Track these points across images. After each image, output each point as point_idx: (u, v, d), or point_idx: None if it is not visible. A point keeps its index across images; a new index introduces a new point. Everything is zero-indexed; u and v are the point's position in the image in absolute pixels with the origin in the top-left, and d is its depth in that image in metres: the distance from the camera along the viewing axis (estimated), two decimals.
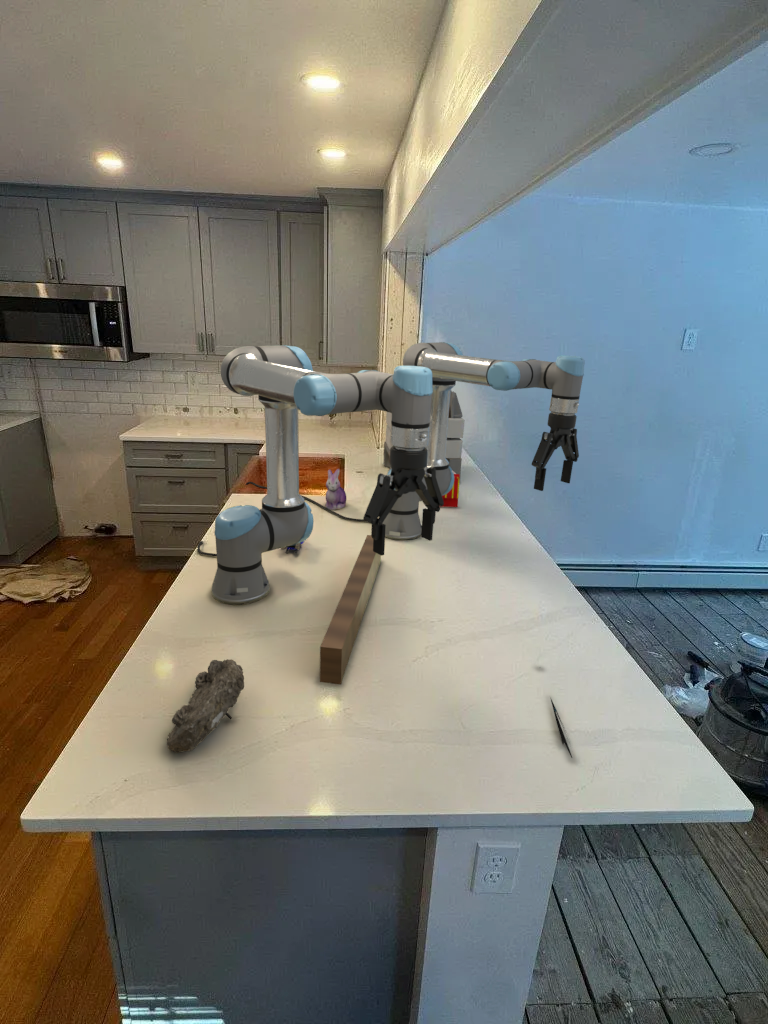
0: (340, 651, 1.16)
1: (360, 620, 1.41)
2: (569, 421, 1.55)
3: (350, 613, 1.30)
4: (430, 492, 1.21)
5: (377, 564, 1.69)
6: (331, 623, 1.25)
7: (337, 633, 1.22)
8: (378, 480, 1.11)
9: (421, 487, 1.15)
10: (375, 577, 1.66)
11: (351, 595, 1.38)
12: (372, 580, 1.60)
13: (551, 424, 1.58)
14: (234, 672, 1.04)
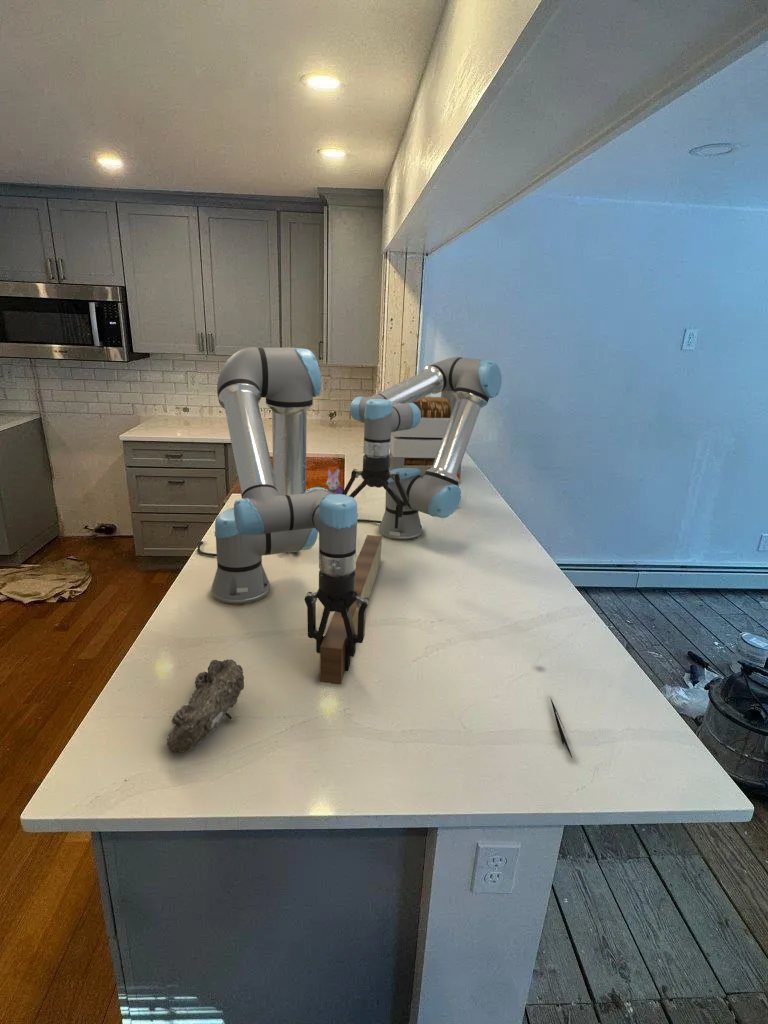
0: (340, 651, 1.16)
1: None
2: (368, 462, 1.58)
3: None
4: None
5: (377, 564, 1.69)
6: (331, 623, 1.25)
7: (337, 633, 1.22)
8: None
9: (342, 612, 1.17)
10: (375, 577, 1.66)
11: None
12: (372, 580, 1.60)
13: None
14: (234, 672, 1.04)
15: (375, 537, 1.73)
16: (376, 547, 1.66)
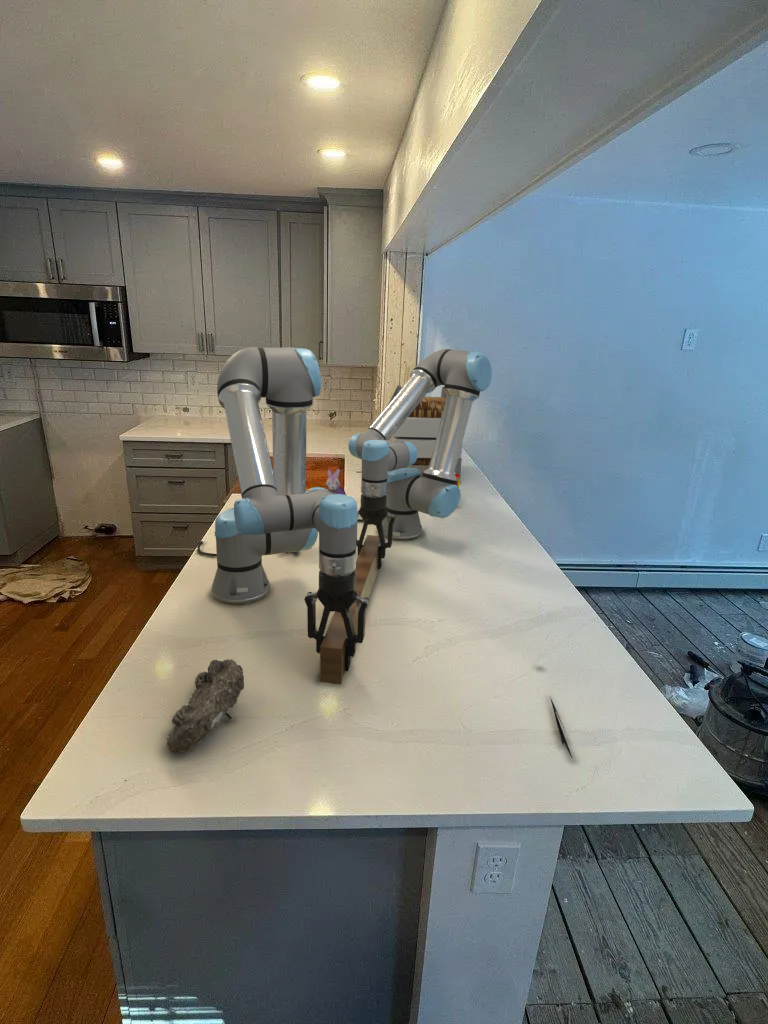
0: (340, 651, 1.16)
1: None
2: (365, 501, 1.62)
3: None
4: None
5: (377, 564, 1.69)
6: (331, 623, 1.25)
7: (337, 633, 1.22)
8: None
9: (342, 612, 1.17)
10: (375, 577, 1.66)
11: None
12: (372, 580, 1.60)
13: None
14: (234, 672, 1.04)
15: (375, 537, 1.73)
16: (376, 547, 1.66)
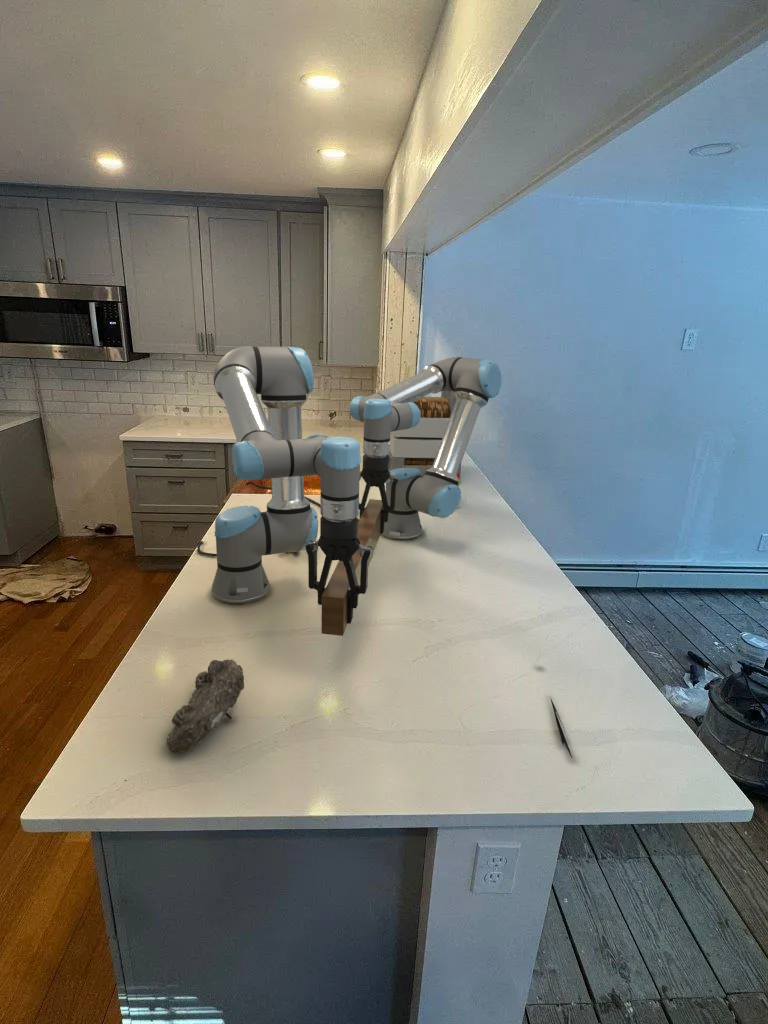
0: (342, 600, 1.12)
1: None
2: (368, 462, 1.58)
3: None
4: None
5: (380, 528, 1.65)
6: (333, 575, 1.21)
7: (339, 584, 1.18)
8: None
9: (344, 560, 1.13)
10: None
11: None
12: (375, 542, 1.56)
13: None
14: (234, 672, 1.04)
15: (377, 501, 1.69)
16: (379, 510, 1.62)
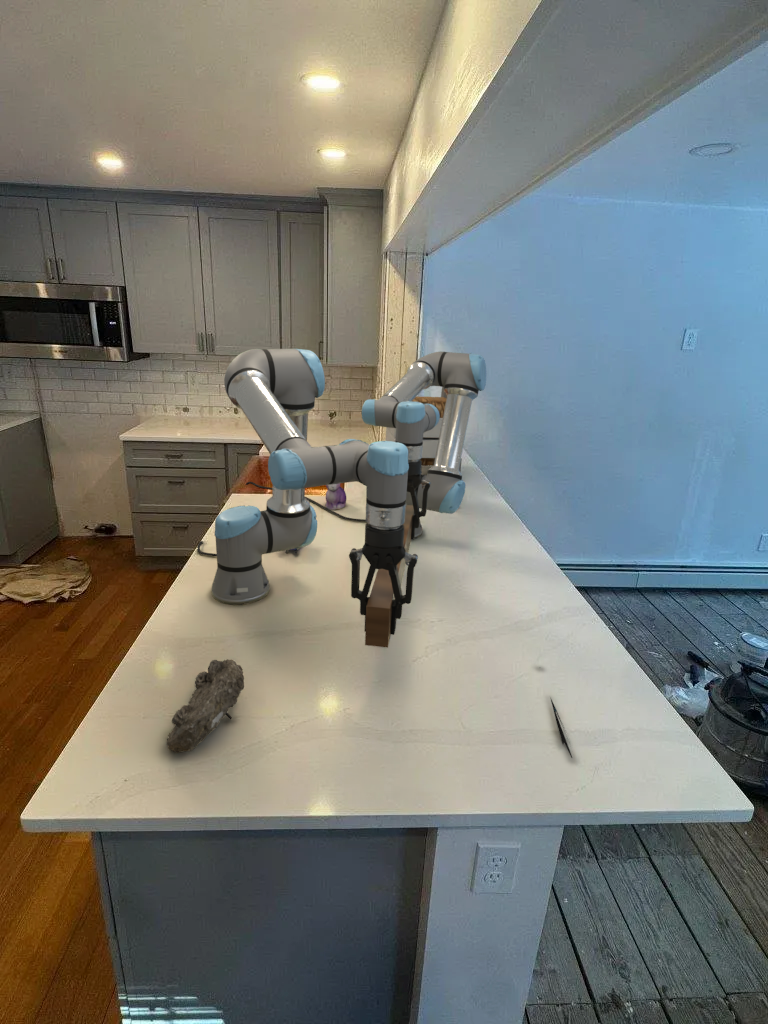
0: (388, 611, 1.08)
1: None
2: None
3: None
4: None
5: None
6: (375, 584, 1.17)
7: (382, 593, 1.14)
8: None
9: (389, 569, 1.09)
10: (409, 547, 1.58)
11: None
12: None
13: None
14: (234, 672, 1.04)
15: (407, 506, 1.65)
16: (410, 515, 1.58)
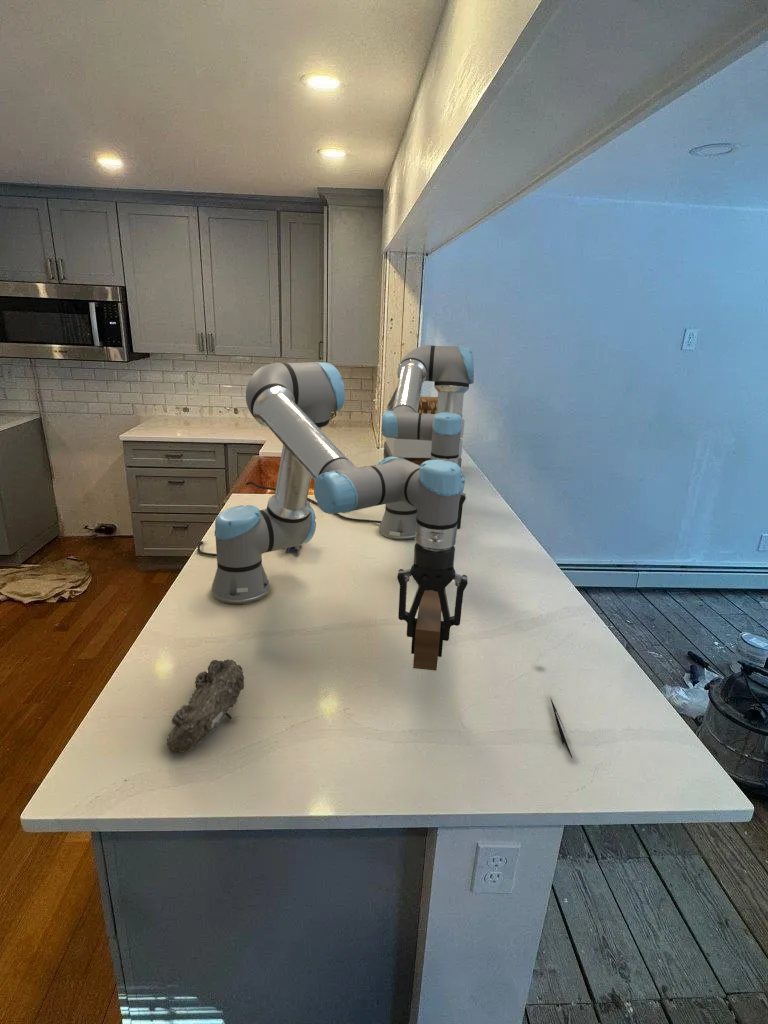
0: (438, 634, 1.06)
1: None
2: None
3: None
4: (455, 604, 1.10)
5: None
6: (421, 605, 1.14)
7: (430, 614, 1.11)
8: None
9: (439, 591, 1.07)
10: None
11: None
12: None
13: None
14: (234, 672, 1.04)
15: None
16: None
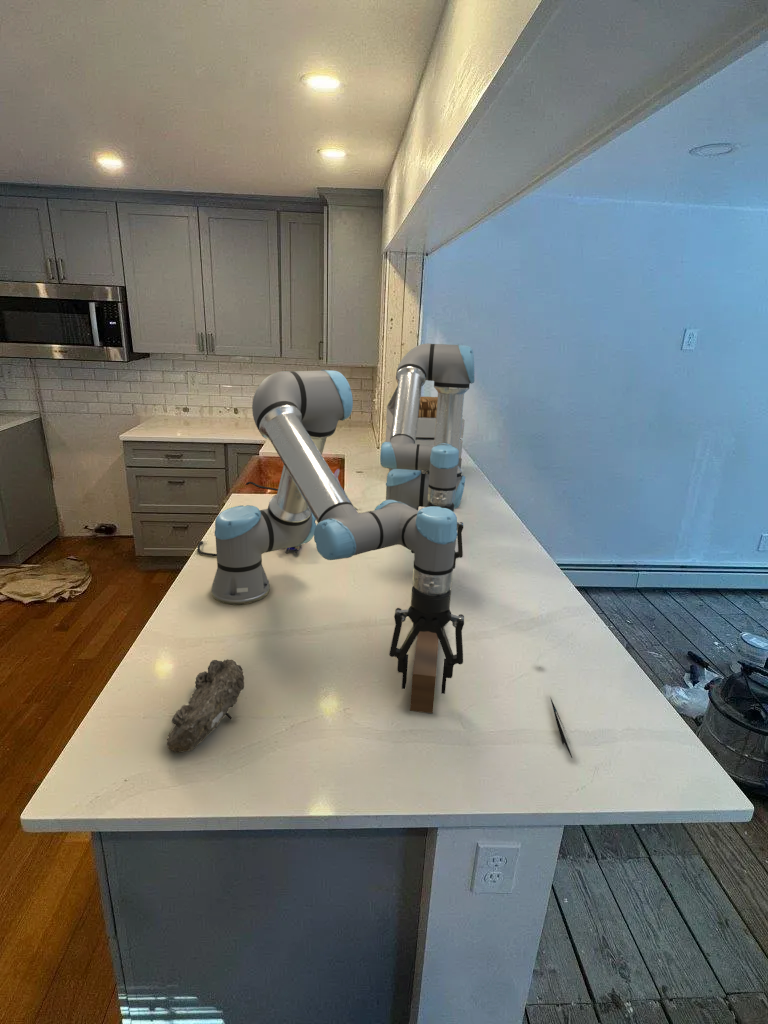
0: (434, 678, 1.09)
1: None
2: None
3: (435, 635, 1.22)
4: None
5: None
6: (417, 647, 1.18)
7: (426, 657, 1.14)
8: None
9: (437, 632, 1.10)
10: None
11: None
12: None
13: None
14: (234, 672, 1.04)
15: None
16: None
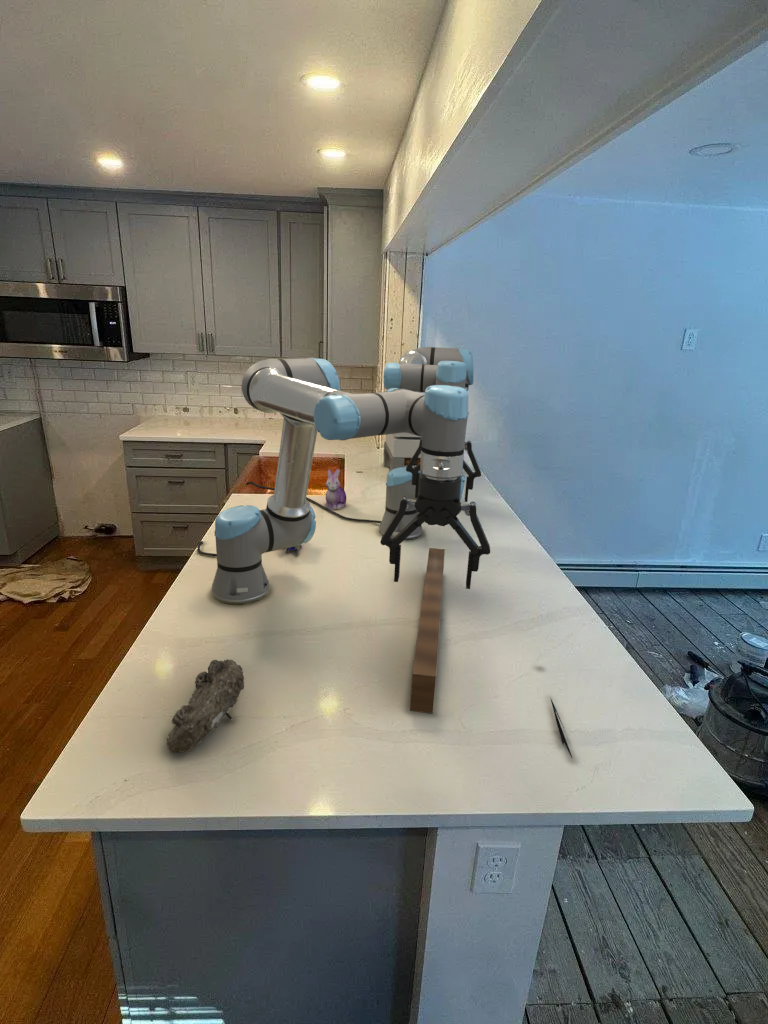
0: (434, 678, 1.09)
1: None
2: None
3: (435, 635, 1.22)
4: None
5: None
6: (417, 647, 1.18)
7: (426, 657, 1.14)
8: None
9: (450, 523, 1.02)
10: None
11: (430, 615, 1.30)
12: None
13: None
14: (234, 672, 1.04)
15: (438, 550, 1.66)
16: (442, 561, 1.59)
